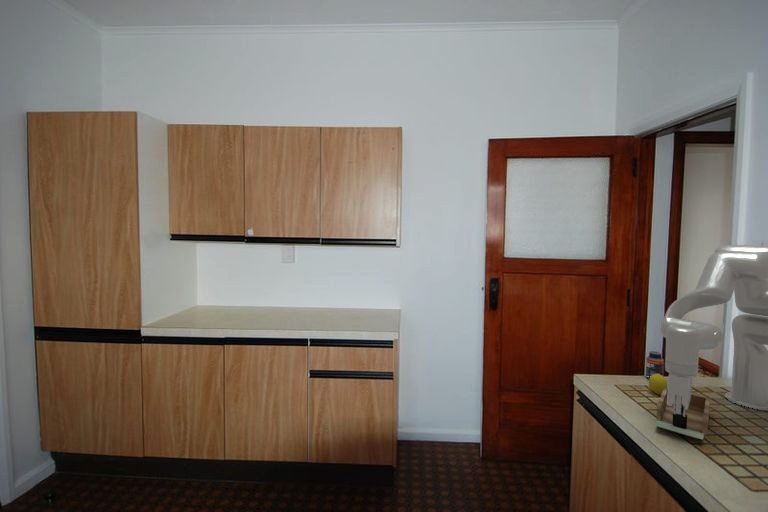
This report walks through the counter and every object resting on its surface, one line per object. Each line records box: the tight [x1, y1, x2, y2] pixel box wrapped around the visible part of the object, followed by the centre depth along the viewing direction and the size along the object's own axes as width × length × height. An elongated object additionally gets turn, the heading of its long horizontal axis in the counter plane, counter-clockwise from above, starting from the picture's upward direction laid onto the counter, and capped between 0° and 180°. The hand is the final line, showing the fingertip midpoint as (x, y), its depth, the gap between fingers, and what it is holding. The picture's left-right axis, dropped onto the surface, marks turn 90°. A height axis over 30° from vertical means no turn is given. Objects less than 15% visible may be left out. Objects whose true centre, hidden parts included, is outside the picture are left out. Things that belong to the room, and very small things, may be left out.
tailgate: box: [654, 420, 705, 440], centre depth 108 cm, size 1×11×8 cm
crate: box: [655, 387, 711, 437], centre depth 118 cm, size 18×12×6 cm, turn 136°
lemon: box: [648, 373, 668, 395], centre depth 136 cm, size 6×6×8 cm
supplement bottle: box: [645, 350, 665, 380], centre depth 150 cm, size 6×6×11 cm
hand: (679, 426), depth 108 cm, fingers closed
